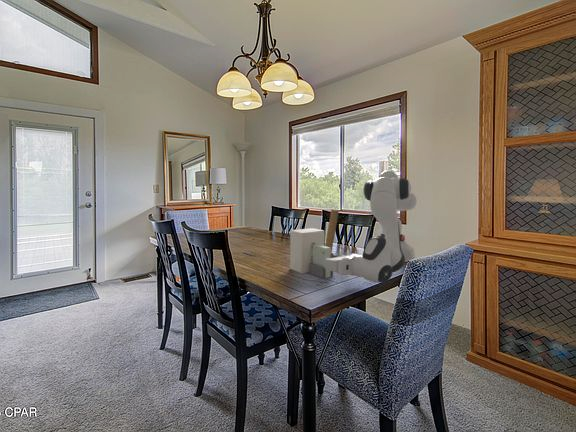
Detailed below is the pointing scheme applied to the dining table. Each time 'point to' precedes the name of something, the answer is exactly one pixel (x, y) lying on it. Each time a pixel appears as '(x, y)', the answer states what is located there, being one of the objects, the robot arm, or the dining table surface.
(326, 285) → the dining table surface
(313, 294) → the dining table surface
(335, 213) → the hammer
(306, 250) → the hinge cabinet
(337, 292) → the dining table surface
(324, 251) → the white upright block
